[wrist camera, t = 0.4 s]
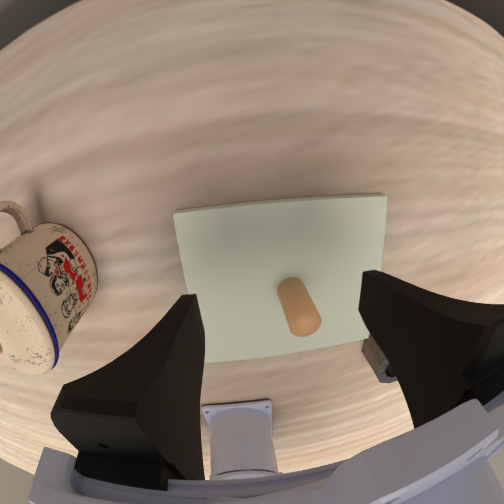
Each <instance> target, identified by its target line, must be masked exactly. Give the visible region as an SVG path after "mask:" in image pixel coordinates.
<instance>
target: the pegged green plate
mask: <svg viewBox="0 0 504 504" xmlns="http://www.w3.org/2000/svg"><path fill="white" fill-rule="evenodd" d="M386 211H387V196H385V195H383V194H359V195H337V196H319V197H304V198H290V199H277V200H265V201H254V202H244V203H234V204H224V205H215V206H207V207H198V208H190V209H182V210H175V212H174V213H173V218H174V224H175V230H176V236H177V241H178V247H179V252H180V258H181V263H182V268H183V273H184V278H185V283H186V287H187V292H188V294H197V299H198V304H199V308H200V313H201V317H202V322H203V326H204V330H205V359H204V362H205V363H214V362H226V361H237V360H246V359H255V358H263V357H271V356H278V355H284V354H291V353H297V352H303V351H309V350H315V349H320V348H325V347H330V346H335V345H340V344H345V343H349V342H354V341H358V340H363V339H367V338H368V337H369V333H370V332H369V331H368V329H367V328H366V326H365V324H364V322H363V320H362V317H361V315H360V313H359V311H358V307H359V299H360V291H361V283H362V273H363V271H369V270H377V271H381V263H382V255H383V246H384V236H385V225H386Z"/></svg>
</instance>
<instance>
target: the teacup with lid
mask: <svg viewBox="0 0 504 504" xmlns="http://www.w3.org/2000/svg"><path fill="white" fill-rule="evenodd" d="M0 212H6V213H9V214H10V215H12V216H13V217H14V219H15V220H16V222H17V224H18V226H19V229H20V232H21V236H20V237H19V238H17V239H16V240H14V241H13V242H11V243H10V244H8V245H7V246H5V247H4V248H2V249H0V359H1V360H3V361H4V362H5V363H7V364H8V365H9V366H11V367H12V368H14V369H16V370H18V371H20V372H22V373H25V374H29V375H42V374H45V373H47V372H49V371H50V370H51V369H53V368H54V367H55V365H56V364H57V361H58V358H59V352H60V350H61V348H62V347H63V345H64V343H65V342H66V340H67V338H68V337H69V335H70V334H71V332H72V330H73V329H74V327H75V326H76V324H77V323H78V321H79V320H80V318H81V317H82V315H83V314H84V312H85V311H86V309H87V308H88V306H89V305H90V303H91V302H92V300H93V298H94V296H95V293H96V288H97V274H96V269H95V265H94V262H93V259H92V257H91V255H90V253H89V251H88V250H87V248H86V246H85V245H84V244H83V242H82V241H81V240H80V239H79V238H78V237H77V236H76V235H75V234H74V233H73V232H71V231H70V230H69V229H67V228H65V227H63V226H61V225H58V224H53V223H45V224H41V225H38V226H37V227H35V228H33V229H32V226H31V223H30V220H29V218H28V216H27V214H26V212H25V210H24V209H23V208H22V207H21V206H20V205H18V204H17V203H15V202H12V201H1V202H0Z"/></svg>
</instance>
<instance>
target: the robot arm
mask: <svg viewBox="0 0 504 504" xmlns="http://www.w3.org/2000/svg"><path fill="white" fill-rule="evenodd" d="M358 311H359V313H360V315H361V317H362V320H363V322H364V324H365V326H366V328H367V329H368V331H369V332H370V334H371V335H372V337H373V339H374V340H375V342H376V343H377V345H378V346H379V348H380V349H381V351H382V352H383V354H384V355H385V357H386V358H387V360H388V362H389V363H390V365H391V367H392V369H393V371H394V373H395V375H396V377H397V379H398V382H399V384H400V386H401V389H402V391H403V394H404V396H405V399H406V402H407V405H408V408H409V411H410V414H411V417H412V421H413V425H414V429H413V430H411V431H409V432H406V433H404V434H402V435H399V436H397V437H394V438H392V439H389V440H387V441H384V442H382V443H380V444H378V445H376V446H373V447H371V448H369V449H366V450H364V451H362V452H360V453H358V454H357V455H355V456H353V457H352V458H350V459H346V460H343V461H339V462H336V463H332V464H328V465H324V466H320V467H316V468H311V469H307V470H302V471H296V472H291V473H285V474H283V473H282V472H280V473H278V467H277V462H276V456H275V451H274V445H273V439H272V437H273V426H272V405H271V401H270V400H263V401H255V402H246V403H235V404H223V405H206V406H203V407H202V412H203V414H204V417H205V419H206V422H207V424H208V427H209V429H210V450H211V475H210V480H205V476H204V467H203V457H202V445H201V426H200V394H201V385H202V376H203V368H204V359H205V330H204V326H203V322H202V317H201V313H200V308H199V304H198V299H197V294H188V295H182V296H181V297H180V298H179V299H178V300H177V301H176V303H175V304H174V305H173V306H172V307H171V309H170V310H169V311H168V312H167V313H166V315H165V316H164V317H163V318H162V319H161V320H160V321H159V322H158V323H157V324H156V325H155V327H154V328H153V329H152V330H151V331H150V332H149V333H148V334H147V335H146V336H145V337H144V338H142V339H141V340H140V341H139V342H138V343H137V344H135V345H134V346H133V347H132V348H131V349H129V350H128V351H127V352H125V353H124V354H122V355H121V356H119V357H118V358H116V359H115V360H113V361H112V362H110V363H109V364H107V365H105V366H104V367H102V368H100V369H98V370H96V371H94V372H92V373H90V374H88V375H86V376H84V377H82V378H79V379H77V380H74V381H72V382H70V383H67V384H64V385H63V387H62V389H61V391H60V393H59V396H58V398H57V400H56V402H55V404H54V407H53V409H52V411H51V419H52V421H53V424H54V426H55V427H56V428H57V429H58V431H59V432H60V433H61V434H62V435H63V436H64V437H65V438H66V439H67V440H68V441H69V442H70V443H71V444H72V445H73V446H74V447H75V448H76V449H77V450H78V451H79V452H78V456H77V458H76V457H74V456H72V455H70V454H67V453H65V452H61V451H58V450H55V449H51V448H48V447H44V449H43V451H42V454H41V457H40V460H39V463H38V466H37V470H36V473H35V476H34V480H33V483H32V487H31V491H30V494H29V498H28V501H29V502H30V503H31V504H504V490H503V488H502V486H501V484H500V482H499V480H498V478H497V477H496V475H495V473H494V471H493V469H492V468H491V466H490V464H489V462H488V461H487V460H488V459H490V458H491V457H492V456H493V455H494V454H496V453H497V452H498V451H499V450H500V449H501V448H502V447H504V304H483V303H475V302H468V301H463V300H458V299H454V298H450V297H446V296H443V295H439V294H436V293H433V292H430V291H428V290H425V289H422V288H420V287H417V286H415V285H412V284H410V283H408V282H405V281H403V280H401V279H398V278H396V277H393V276H391V275H389V274H386V273H383V272H381V271H377V270H369V271H363V273H362V283H361V291H360V299H359V307H358Z"/></svg>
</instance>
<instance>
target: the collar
mask: <svg viewBox="0 0 504 504" xmlns="http://www.w3.org/2000/svg"><path fill="white" fill-rule="evenodd" d="M362 352H363V354H364V355H365V357H366V359H367V361H368V362H369V364H370V366H371V367H372V369H373V371H374V373H375V374H376V376H377V378H378V380H379V381H380V382H381V383H391V382H394V381H397V380H398V379H397V377H396V375H395V373H394V371H393V369H392V367H391V365H390V363H389V362H388V360H387V358H386V357H385V355H384V354H383V352H382V351H381V349H380V348H379V346H378V345H377V343H376V342H375V340H374V339H373V337H372V335H371V334H369V337H368V338H367V339H365V340H364V344H363V348H362Z"/></svg>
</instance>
